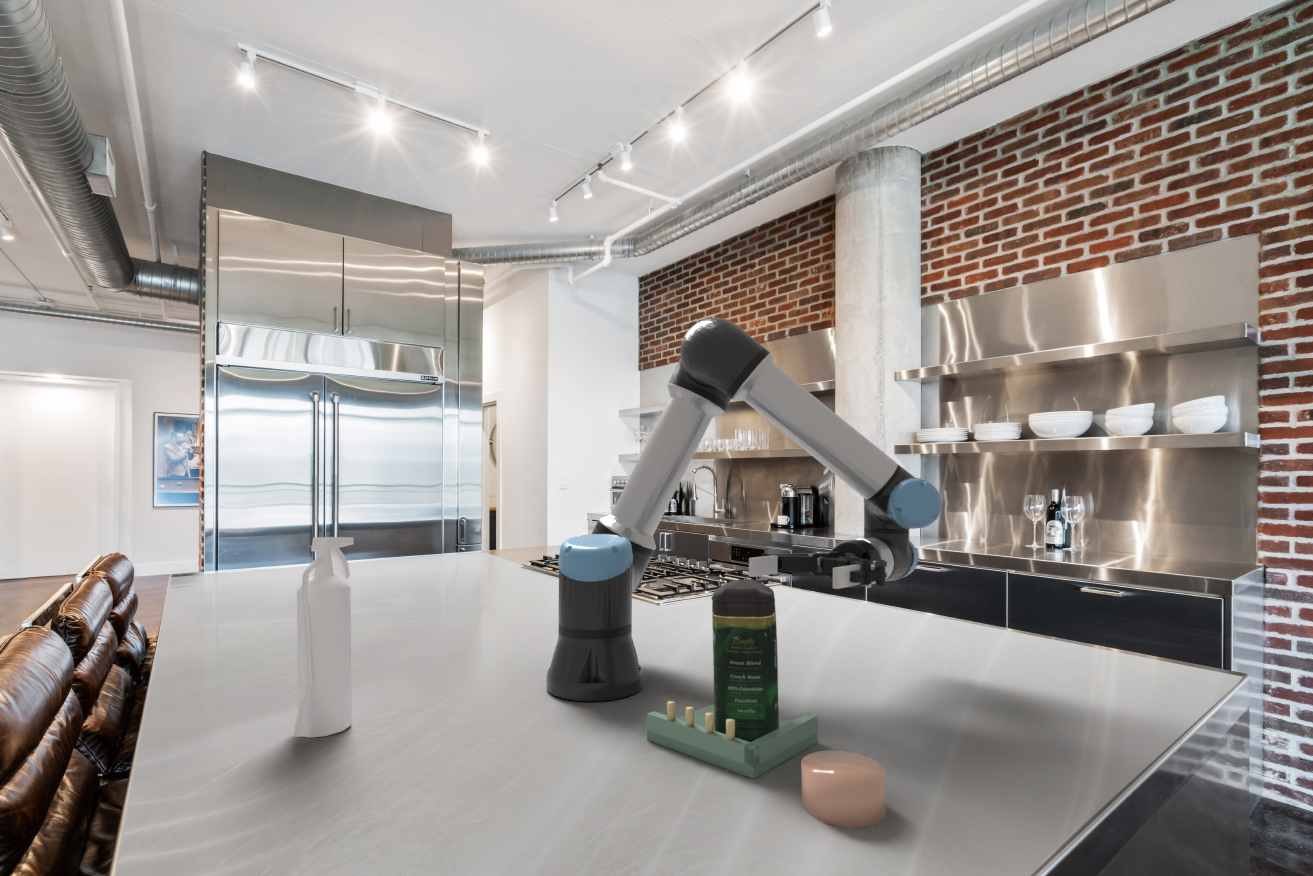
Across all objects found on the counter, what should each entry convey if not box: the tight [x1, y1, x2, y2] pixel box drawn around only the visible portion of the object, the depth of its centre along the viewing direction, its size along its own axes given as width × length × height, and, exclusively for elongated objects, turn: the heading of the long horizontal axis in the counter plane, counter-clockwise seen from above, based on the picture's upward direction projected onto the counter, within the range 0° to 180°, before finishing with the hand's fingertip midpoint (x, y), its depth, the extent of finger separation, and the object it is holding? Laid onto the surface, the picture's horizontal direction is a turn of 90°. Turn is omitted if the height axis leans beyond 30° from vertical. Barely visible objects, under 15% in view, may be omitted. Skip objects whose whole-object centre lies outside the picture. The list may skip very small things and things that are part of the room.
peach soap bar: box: [800, 750, 887, 829], centre depth 65 cm, size 8×8×4 cm
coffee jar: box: [711, 579, 780, 742], centre depth 81 cm, size 10×8×19 cm
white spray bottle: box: [290, 536, 355, 739], centre depth 85 cm, size 7×12×25 cm, turn 176°
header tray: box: [646, 700, 819, 779], centre depth 82 cm, size 16×14×5 cm
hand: (790, 572), depth 92 cm, fingers open, 13 cm apart
